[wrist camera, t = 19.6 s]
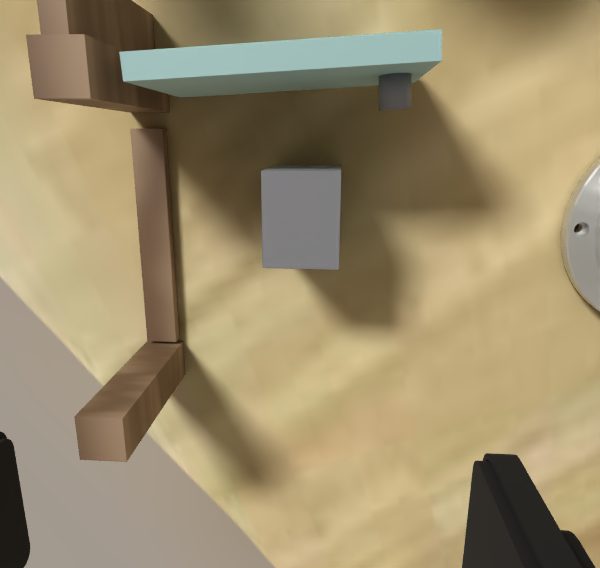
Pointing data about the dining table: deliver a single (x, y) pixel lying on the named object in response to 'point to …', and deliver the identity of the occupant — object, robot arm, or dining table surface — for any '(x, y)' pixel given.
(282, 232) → the block
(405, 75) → the door
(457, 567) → the dining table surface
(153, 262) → the door frame
